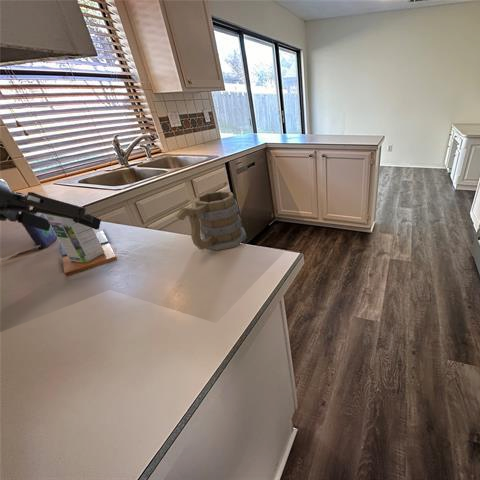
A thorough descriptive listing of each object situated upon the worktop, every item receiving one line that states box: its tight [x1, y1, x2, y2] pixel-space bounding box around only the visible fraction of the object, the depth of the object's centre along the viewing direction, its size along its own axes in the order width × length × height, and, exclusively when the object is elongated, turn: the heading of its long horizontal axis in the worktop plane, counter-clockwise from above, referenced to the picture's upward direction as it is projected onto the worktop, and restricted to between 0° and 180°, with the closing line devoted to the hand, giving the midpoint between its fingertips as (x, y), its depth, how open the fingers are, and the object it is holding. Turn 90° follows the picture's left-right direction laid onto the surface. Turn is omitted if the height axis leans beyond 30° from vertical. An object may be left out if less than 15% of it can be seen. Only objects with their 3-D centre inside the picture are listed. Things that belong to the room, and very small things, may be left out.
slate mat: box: [59, 230, 110, 257], centre depth 82 cm, size 11×11×1 cm
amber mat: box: [61, 243, 118, 277], centre depth 73 cm, size 11×11×1 cm
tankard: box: [176, 190, 248, 252], centre depth 75 cm, size 20×13×15 cm, turn 159°
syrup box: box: [44, 205, 105, 263], centre depth 70 cm, size 6×6×14 cm
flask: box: [21, 213, 58, 250], centre depth 82 cm, size 9×3×11 cm, turn 24°
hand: (73, 225), depth 69 cm, fingers open, 13 cm apart
